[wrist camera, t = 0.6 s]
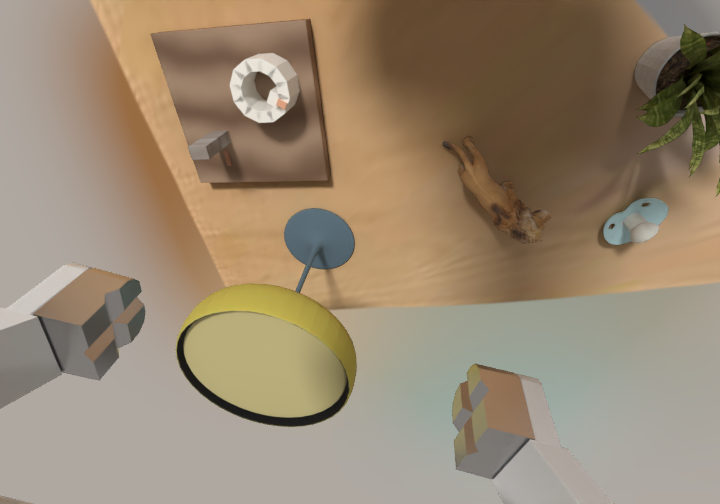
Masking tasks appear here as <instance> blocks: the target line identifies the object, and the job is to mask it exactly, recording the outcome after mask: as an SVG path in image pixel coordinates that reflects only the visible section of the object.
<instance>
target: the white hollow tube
mask: <svg viewBox="0 0 720 504" xmlns="http://www.w3.org/2000/svg"><path fill="white" fill-rule="evenodd" d="M258 71H260V72H262V73H264V74H266V75H268V76H270V77H271V79H272V80H273V82H274V83H275V84H276V87H275V88H273V89H272V90H270V93H269V96H268V99H267V100H265V99H263V98H262V97H261V96H260V94H259V93H258V92H257V90H256V85H255V81H254V80H255V77H256V73H257V72H258ZM230 89H231V93H232V97H233V101H234V103H235V104H236V105H237V107H238V108H239V109H240V110H241V112H242V113H243V114H244V116H246V117H248V118H250V119H252V120H254V121H256V122H258V123H267V122H274V121H276V120H277V119H278V118H280V117H281V116H282V115H284V114H285V113H286V112H287V111H288V110H289V109H291V108H292V107H293V106H294V105H295V103H296V100H297V97H298V94H299V92H300V89H299V83H298V76H297V74H296V72H295V71H294V69H293V68H292V66H291V65H290V63H289V62H288V61H287V60H286V59H284V58H282V57H280V56H278V55H276V54H274V53H265V54H257V55H255V56H252V57H250V58H247V59H245V60H243V61H242V62H241V63H240V64H239V65H238V66H237V67H236V68H234V69H233V73H232V77H231V81H230Z"/></svg>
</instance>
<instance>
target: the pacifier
mask: <svg viewBox="0 0 720 504" xmlns="http://www.w3.org/2000/svg"><path fill="white" fill-rule="evenodd" d="M643 203H650V204H649V205H648V206H642V204H643ZM667 214H668V206H667V205H666V204H665V203H664V202H663V201H661V200H659V199H656V198H642V199H638V200H636V201H634V202H633V203H631V204H630V205H629V206H628V207H627V208H626V209H625V210H624V211H622V212H619V213H616V214H614V215H613V216H611V217H610V218H609V219H608V220H607V221H606V223H605V225H604V228H603V235H604V238H605V239H606V241H607V242H608V243H610V244H613V245H621V244H625V243H628V242H632V241H633V242H634V243H642V242H645V241H647V240H649V239H651V238H652V237H654V236H655V235H656V234H657V232H658V230H659V227H658V226H659V225H660V224H661V222H662V221H663V220H664V219H665V218H666V216H667ZM611 224H614V227H613V228H612V229H609V226H610V225H611Z"/></svg>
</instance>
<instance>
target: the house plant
mask: <svg viewBox="0 0 720 504" xmlns="http://www.w3.org/2000/svg"><path fill="white" fill-rule="evenodd" d="M634 76H635V81H636V83H637V85H638V86H639V87H640V89H641V90H642V91H643V92H644V93H645V94H646V95H647V96H648V97H649V99H650V101H649V102H647V103H646V104H645V105H643V106H642V107H641V108H638V109H636V110H645V111H648V112H647V113H646V114H644V115H643V116H641V117H636V118H638V119H640V120H642V121H643V122H644V123H646V124H647V125H649V126H652V127H659V126H663V125H665V124H666V123H668V122H669V121H670V120H671V119H672V118H673V117H674V116H680V117H682V118H681V120H680V121H679V122H678V123H677V124H675V125H674V126H673V127H672V128H671V129H670V130H669V131H668V132H667V133H666V134H665V135H664V136H663V137H662V138H660V139H659V140H657V141H656V142H654V143H652V144H650V145H649V146H647V147H646V148H644V149H643V150H642V151H641V152H639V153H637V154H640V153H643V152H646V151H649V150H653V149H656V148H658V147H661V146H663V145H665V144H667V143H669V142H671V141H673V140H674V139H676V138H677V137H679V136H680V135H681V134H682V133H684V132H685V131H686V130H687V128H688V127H689V125H690V124H691V121H692V126H693V143H692V151H693V153H692V158H691V161H690V168H691V167H692V165H693V167H692V169H691V172H690V176H691V175H692V174H693V173H694V171H695V170H696V169H697V167H698V166H699V164H700V162H701V160H702V158H703V154H704V152H705V151H707V150H709V149H711V148H713V147H714V146H716V145H717V144H718V143H719V145H720V32H707V33H700V34H698V33H696V32H694V31H693V30H691V29H689V28H687V27H686V26H685V25H684V32H683V35H682V36H676V37H669V38H666V39H662V40H660V41H658V42H656V43H654V44H653V45H652V46H651V47H650V48H649V49H648V50H647V51H646V52H645V53H644V54H643V55H642V56H641V58H640V59H639V61H638V62H637V65H636V68H635V74H634ZM700 113H701V114H704V116H705V121H706V132H705V131H704V126H703V123H702V119H701V115H700ZM719 163H720V157H719ZM690 168H689V169H690ZM719 193H720V179H719V182H718V185H717V195H718V194H719Z"/></svg>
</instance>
